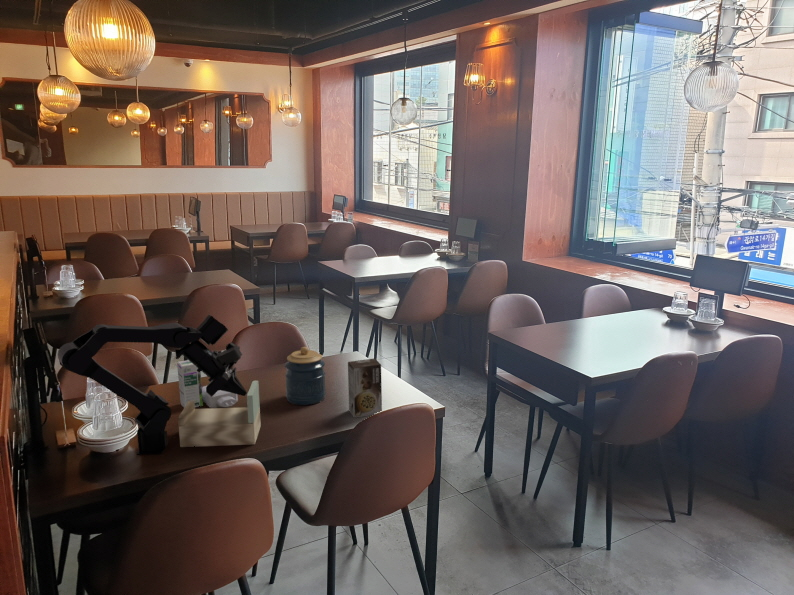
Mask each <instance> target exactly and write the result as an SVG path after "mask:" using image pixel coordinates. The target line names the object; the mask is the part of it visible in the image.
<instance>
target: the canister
mask: <svg viewBox="0 0 794 595" xmlns="http://www.w3.org/2000/svg"><path fill="white" fill-rule="evenodd" d="M286 360H287V361H286V362H284V367H285V369H286V372H285V374H284V377H285V397H286V400H287V402H289V403H290V404H293V405H299V406H308V405H309V404H310V405H314V404H317V403H320V401H321V402H322V401H324V400H325V397H326V393H327V392H326V391H327V390H326V379H325V378H326V371H325V370H324V367H325V366H326V362H325V361H324V360H323V355H322V354H320V353H318V351H315V350H311V349H309V348H308V347H307V346H301V347H300V350H295V351H293V352H292V353H290V354H289V355H288V356H287V357H286ZM310 405H309V406H310Z"/></svg>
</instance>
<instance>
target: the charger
mask: <svg viewBox="0 0 794 595" xmlns="http://www.w3.org/2000/svg"><path fill="white" fill-rule="evenodd" d="M206 387H207V385H204V386H202V397H203V403H205V404H206V406H208V407H209V409H210V408H230V407H232V406H234V405H236V403H238V401H239V397H238V394H234V393H230V392H226V391H221V390H219V391H217V392H216V393H215V394H214V395H213V396H212V397H211V396H210V395H209V394H208V393H206Z"/></svg>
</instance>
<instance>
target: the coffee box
mask: <svg viewBox="0 0 794 595" xmlns="http://www.w3.org/2000/svg"><path fill="white" fill-rule="evenodd" d="M347 373H348V374H347V378H348V379H347V381H348V386H347V387H348V411H349V412H350V414H351V415H352V416H353V417H354V418H361V417H366V416H373V415H375V414H374V413H377V412H380V411H382V412H383V406H382V405H383V403H382V401H383V396H382V394H383V393H382V364H381V363H380V362H379V361H378V360H377V359H376V358H368V359H367V358H366V359H360V360H359V359H358V360H353V361H347ZM372 414H373V415H372Z"/></svg>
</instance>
